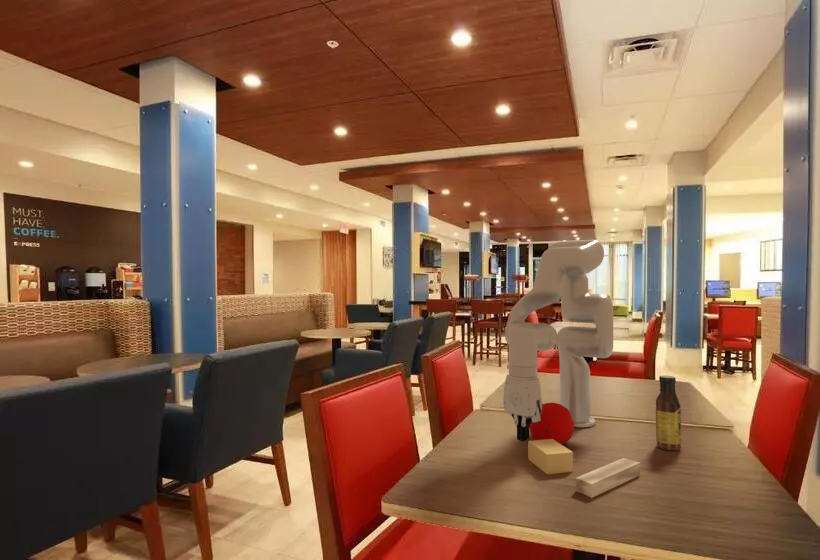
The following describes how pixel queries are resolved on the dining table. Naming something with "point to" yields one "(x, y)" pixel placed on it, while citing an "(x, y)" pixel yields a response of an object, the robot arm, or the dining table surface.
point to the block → (550, 456)
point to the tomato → (553, 424)
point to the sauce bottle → (668, 415)
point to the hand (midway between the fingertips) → (523, 439)
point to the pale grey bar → (607, 477)
